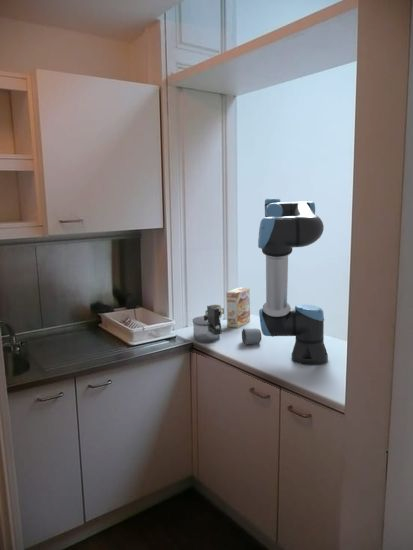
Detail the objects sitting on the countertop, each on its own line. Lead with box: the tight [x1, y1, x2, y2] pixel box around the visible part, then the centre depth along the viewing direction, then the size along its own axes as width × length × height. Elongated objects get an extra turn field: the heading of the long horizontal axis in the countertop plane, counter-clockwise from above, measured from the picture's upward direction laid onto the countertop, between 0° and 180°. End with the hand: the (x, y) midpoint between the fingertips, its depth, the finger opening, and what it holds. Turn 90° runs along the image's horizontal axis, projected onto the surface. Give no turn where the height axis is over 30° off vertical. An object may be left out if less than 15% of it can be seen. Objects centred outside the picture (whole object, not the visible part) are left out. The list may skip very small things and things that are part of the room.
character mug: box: [204, 304, 225, 330], centre depth 242 cm, size 11×7×13 cm, turn 113°
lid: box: [191, 304, 221, 326], centre depth 222 cm, size 20×14×9 cm
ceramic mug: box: [241, 327, 262, 346], centre depth 218 cm, size 11×8×8 cm
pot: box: [192, 322, 222, 344], centre depth 225 cm, size 25×13×9 cm, turn 24°
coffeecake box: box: [225, 286, 251, 329], centre depth 251 cm, size 15×7×20 cm, turn 147°
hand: (273, 278), depth 222 cm, fingers closed
